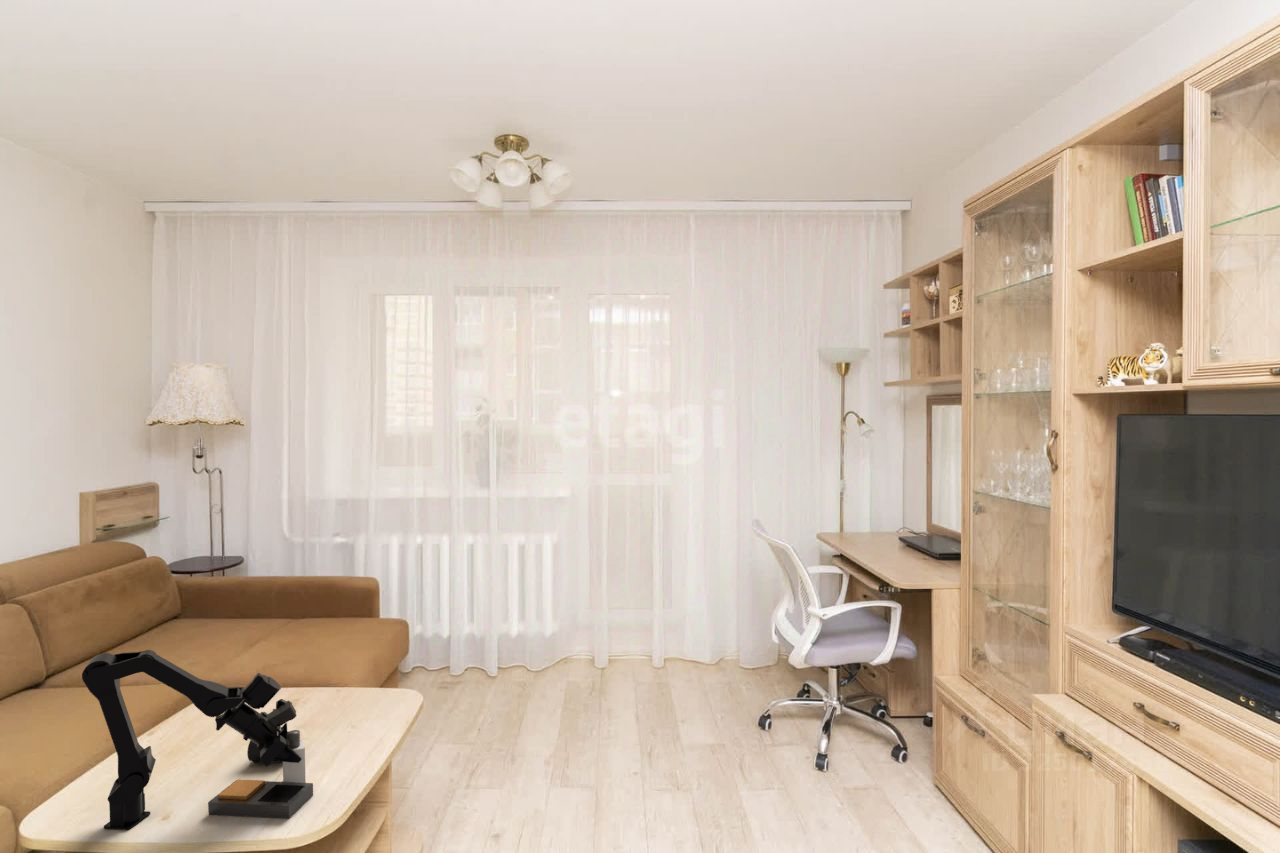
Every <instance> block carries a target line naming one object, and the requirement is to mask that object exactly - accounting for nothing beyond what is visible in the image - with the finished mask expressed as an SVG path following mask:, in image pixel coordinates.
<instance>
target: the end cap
mask: <svg viewBox="0 0 1280 853" xmlns="http://www.w3.org/2000/svg"><path fill="white" fill-rule="evenodd" d="M288 732H289V731H287V733H288ZM249 740H250V739H249ZM264 747H265V745H264V746H263V748H264ZM263 748H262V749H263ZM262 749H261V750H262ZM261 750H260V749H258V748H257V744H256V743H254V742H253V741H251V740H250V741H249V743H248V746H247V759H248V761H249V762H252V763H260V751H261Z"/></svg>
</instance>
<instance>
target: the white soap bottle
mask: <svg viewBox="0 0 1280 853" xmlns="http://www.w3.org/2000/svg"><path fill="white" fill-rule="evenodd" d="M287 732H288V733H287V737H288V746H289V747H290V748H291V749H292V750H294V751H295V752H296V753H297V754H298V755H299V756H300V757H301V761H300V762H299V763H294V762H282V782H297V783H307V781H306V748H305V740H304V739H303V740H301V731H300V730H299V729H292V730H289V731H287Z"/></svg>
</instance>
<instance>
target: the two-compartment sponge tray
mask: <svg viewBox="0 0 1280 853" xmlns="http://www.w3.org/2000/svg"><path fill="white" fill-rule="evenodd" d="M313 796H314V783H313V782H306V783H297V782H283V781H270V780H269V781H267V780H264V779H242V778H241V779H240V778H239V779H236V780H234V781H233V782H232V783H231V784H229V785H228V786H227V787H225V788H224V789H223V790H222V791H221V792H220V793H218V794H216V795H215V796H214V797H212V798H211V799H210V800H209V801H207V802H208V803H207V805H208V806H207V808H208V816H221V817H222V816H223V817H225V816H227V817H245V818H246V817H247V818H248V817H249V818H264V819H265V818H268V819H269V818H270V819H286V820H287V819H289V820H290V818H292V816H294V814H296V813H297V812H298V811H299V810H300V809H301V808H302V807H303V806H304V805H305V804H306V803H307V802H308V801H310V799H311V798H312V797H313Z"/></svg>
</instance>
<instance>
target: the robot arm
mask: <svg viewBox="0 0 1280 853" xmlns="http://www.w3.org/2000/svg"><path fill="white" fill-rule="evenodd" d="M138 673H144V674H145V675H147V676H149V677H151V678H153V679H155V680H156V681H158V682H160V683H162V684H163V685H165V686H167V687H168V688H169V687H170V689H173V690H174V691H176V692H178V693H180V694H181V695H183V696H185V697H187V699H188V700H190V702H191V703H192V705H194V707H196V708H197V709H198V711H200V712H202V713H203V715H205V716H206V717H209V718H214V717H215V718H214V720H215V724H216V728H215V730H216V731H220V730H221V729H222V728H223V727H224V725H227V726H229V727H230V728H232V729H233V730H234V731H236V732H237V733H239V734H240V735H242V736H243V737H242V740H244V741H246V742H247V741H248V740H251V741H253V742H254V743H256V744H257V748H258V749H260V750H261V749H262V748H263V746H264V745H265V747H264V748H263V749H262V750H261V751H260V762H259V763H260V764H261V765H263V766H265V767H268V766H270V765H271V763H272V762H282V763H283V762H294V763H299V762H300V761H301V757H300V756H299V755H298V754H297V753H296V752H295V751H294V750H292V749H291V748H290V747H289V746H288V737H287V732H288V722H290V721H293V720H294V719H295V718H297V710H296V709H295V707H294V705H293V702H292V701H290V700H288V699H287V700H285V699H283V698H281V699H279V700H277V701H276V703H275V708H273V709H272V711H270V712H269V713H267V712H265V711H261V712H259V711H257V710H260V709H263V708H265V707H266V705H267V704H269V702H270V701H271V700H272V699H273V698H274V697H276V696H275V695H277V694H278V693H279V691H280V690H281V689H282V687H281V685H280V684H279V683H278V682H277V681H276V680H275V679H274V678H273V677H271V676H267V675H265V674H261V673H260V672H258V673H256V674H255V676H254V677H253V678H252V680H251V681H250V682H249V683H248V684H247V685H246V686H245V687H244V686H242V687H241V686H240V687H239V686H237V687H227V686H226V685H222V684H220V683H218V682H214V681H211V680H204V679H202V678H199V677H197V676H195V675H193V674H191V672H188V671H187V670H185V669H183V668H182V667H179V666H178V665H176V664H174V663H172V662H171V661H169V660H168V659H166V658H163V657H162V656H160V655H159V654H158V653H156V652H155V651H154V650H151V649H146V650H141V651H130V652H119V653H115V654H112V653H109V652H103V653H98V654H97V655H94V656H93V657H92V658H91V659H90V660H89V662H88V663H87V665H86V666H85V668H84V669H83V671H82V672H81V679H82V682H83V683H84V685H85V687H87V690H88V691H89V693H91V695H92V696H93V697H95V699H96V700H97V701H98V703H99V706H100V708H101V711H102V714H103V717H104V720H105V723H106V725H107V729H108V732H109V734H110V738H111V740H112V743H113V746H114V750H115V751H116V755H117V777H116V779H115V780H114V782H113V785H112V787H111V790H110V792H109V795H108V797H107V802H108V804H109V821H108V822H107V823H106V824H104V825H103V829H106V830H107V829H108V830H109V829H111V830H112V829H113V830H130V829H132V828H134V827H135V826H136V825H138V824H139V823H140V822H142V821H143V820H145V819H146V818H147V817H149V815H151V811H149V810H146V798H145V797H146V794H145V792H144V789H145V788H146V787H147V785H148V783H149V782H150V780H151V776H152V773H153V770H154V766H155V765H156V764H155V763H156V761H157V759H156V758H155V757H154V756H153V753H152V746H151V745H149V746H147V747H145V748H144V747H143V746H142V745H141V744H140V743H139V741H138V738H137V735H136V731H135V729H134V726H133V724H132V720H131V717H130V714H129V711H128V709H127V705H126V702H125V700H124V696H123V694H122V691H121V679H124V678H126V677H129V676H132V675H135V674H138Z"/></svg>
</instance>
